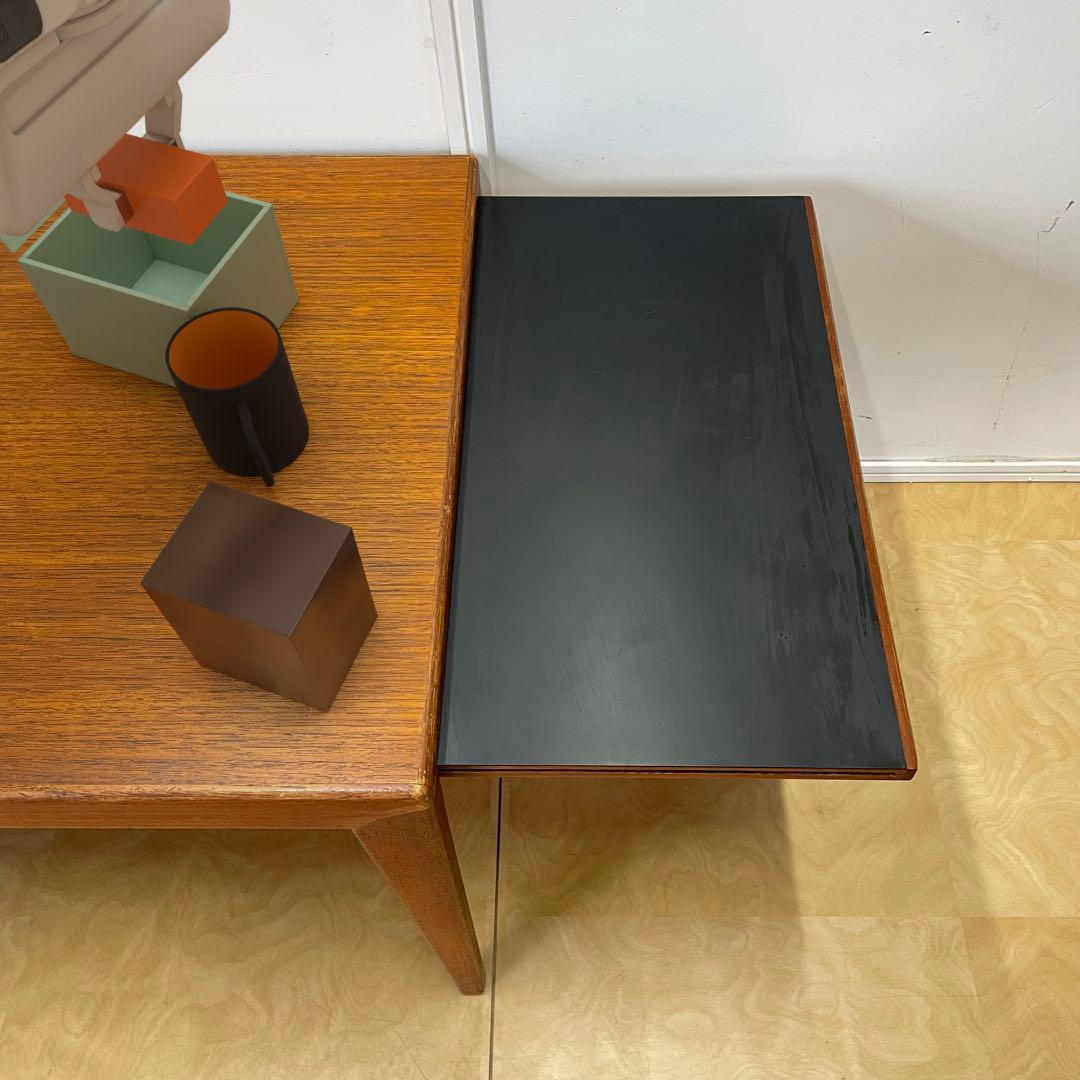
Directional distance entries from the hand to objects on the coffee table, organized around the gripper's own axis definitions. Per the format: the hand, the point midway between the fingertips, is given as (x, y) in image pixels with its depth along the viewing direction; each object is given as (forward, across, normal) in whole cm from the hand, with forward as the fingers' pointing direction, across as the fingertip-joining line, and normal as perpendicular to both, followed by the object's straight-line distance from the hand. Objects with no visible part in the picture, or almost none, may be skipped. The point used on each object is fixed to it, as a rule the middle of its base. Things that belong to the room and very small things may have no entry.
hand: (143, 192), depth 52 cm
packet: (+1, 0, 0) cm, 1 cm away
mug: (+26, -1, 0) cm, 26 cm away
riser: (+26, +13, +10) cm, 30 cm away
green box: (+26, -11, -13) cm, 31 cm away
